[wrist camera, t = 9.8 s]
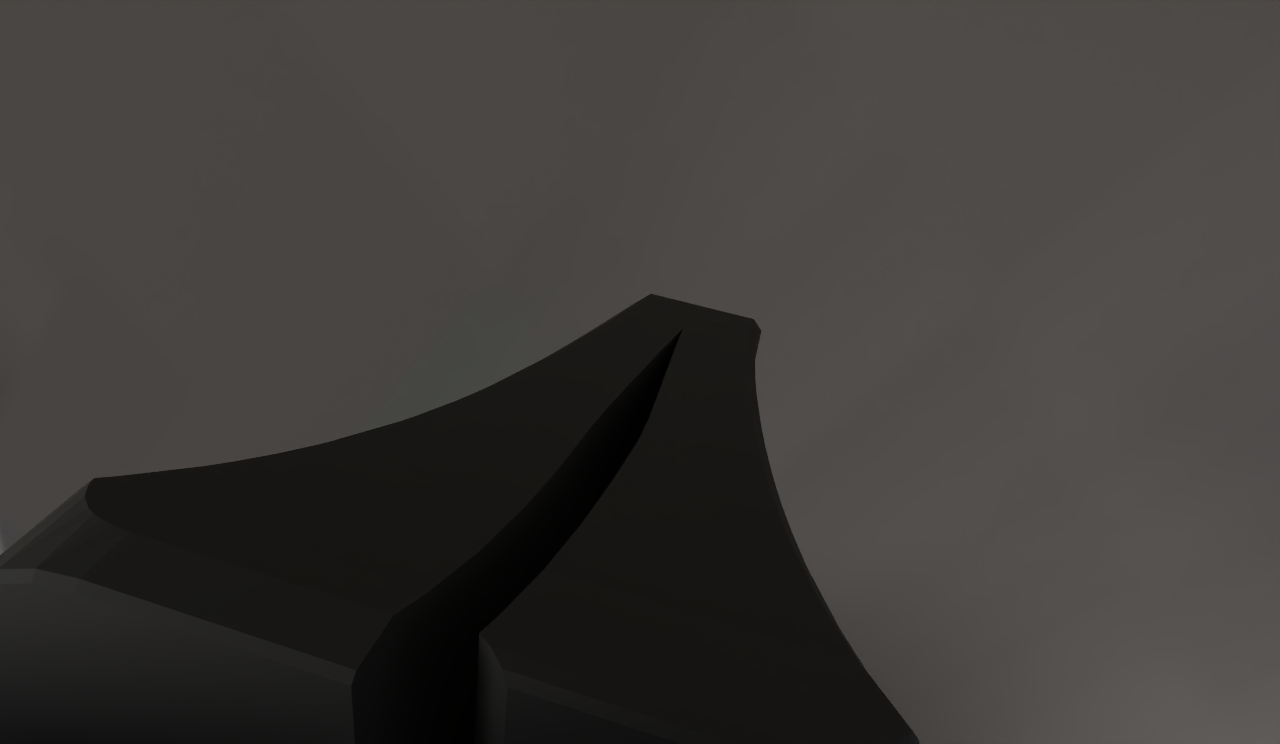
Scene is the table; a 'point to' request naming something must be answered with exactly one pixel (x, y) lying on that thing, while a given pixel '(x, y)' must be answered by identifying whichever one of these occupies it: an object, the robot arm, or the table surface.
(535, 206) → the table surface
